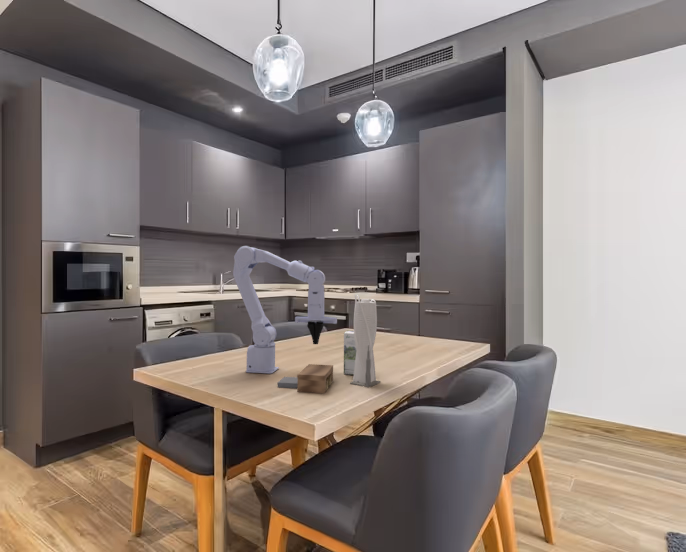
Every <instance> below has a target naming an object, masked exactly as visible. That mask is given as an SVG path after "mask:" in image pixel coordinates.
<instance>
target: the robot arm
mask: <svg viewBox="0 0 686 552" xmlns="http://www.w3.org/2000/svg"><path fill="white" fill-rule="evenodd" d="M233 261H234V264H233V272H232V273H233V274H232V276H233V279H234V281H235V284H236V286H237V289H238V291H239V294H240V296H241V298H242V301H243V303H244V306H245V309H246V311H247V314H248V316H249V318H250V321H251V328H250V329H251V330H252V341H253V343H254V344H251V345H248V347H247V350H246V370H245V372H246V373H253V374H273V373H274V372H276V371H277V370H278V369H280V368H279V366H276V343H275V341H274V340H276V338H277V336H278V335H277V330H276V327H275V326H273V325H272V323H271V321H270V320H269V318H268V317H267V316H266V313H265V312H264V309H263V306H262V304H261V302H260V299H259V297H258V294H257V291H256V289H255V287H254V286H255V285H254V283H253V281H252V279H251V277H250V275H251V273H252V271H253V270H254V268H255V267H256V266H257V265H258V264H259V263H268V264H270V265H273V266H275V267H278V268H280V269H283V270H285V271H286V272H287V275H288V276H290V277H292V278H294V279H296V280H298V281H301V282H303V283H307V284H308V291H307V316H295V317H294V323H303V324H304V323H307V325H306V327H307V328H308V330H309V332H310V336H311V338H312V339H311V340H312V344H313V345H318V344H319V341H320V338H321V337H320V336H321V333H322V331H323V329H324V326H325V324H334V325H337V324H338V317H331V316H325V294H326V293H325V282H326V275H325V274H324V272H323V271H321V270H320V269H315V266H310V265H307V264H305V263H303V261H302V260H298V261H297V260H293V261H291V262H290V261H288V260H286V259H284V258H282V257H280V256H279V255H277V254H276V255H275V254H273V253H272V252H269V251H268V250H263V249H258V248H256V247H250V246H249V245H243V246H240V247H239V248H238V249H237V251H235V254H234V256H233Z"/></svg>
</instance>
